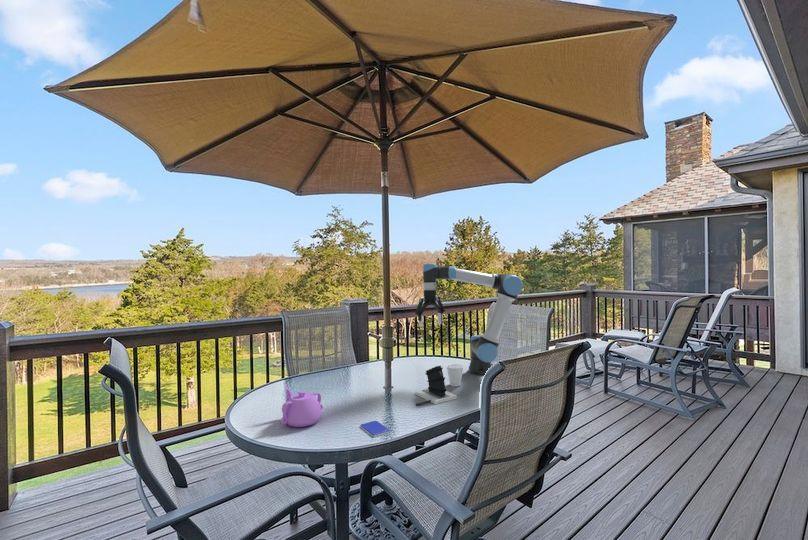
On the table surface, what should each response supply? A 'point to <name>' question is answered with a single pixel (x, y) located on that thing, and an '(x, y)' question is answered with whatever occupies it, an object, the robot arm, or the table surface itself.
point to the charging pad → (434, 397)
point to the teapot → (301, 409)
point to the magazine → (436, 381)
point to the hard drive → (375, 428)
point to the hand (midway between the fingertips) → (430, 325)
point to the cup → (455, 374)
